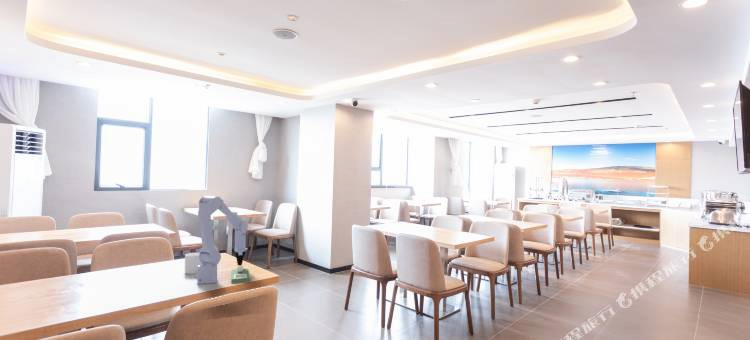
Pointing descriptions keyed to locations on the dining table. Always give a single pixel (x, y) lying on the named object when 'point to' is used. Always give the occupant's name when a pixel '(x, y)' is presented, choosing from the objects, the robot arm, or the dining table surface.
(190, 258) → the cup
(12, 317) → the dining table surface
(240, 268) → the ball
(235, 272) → the green
